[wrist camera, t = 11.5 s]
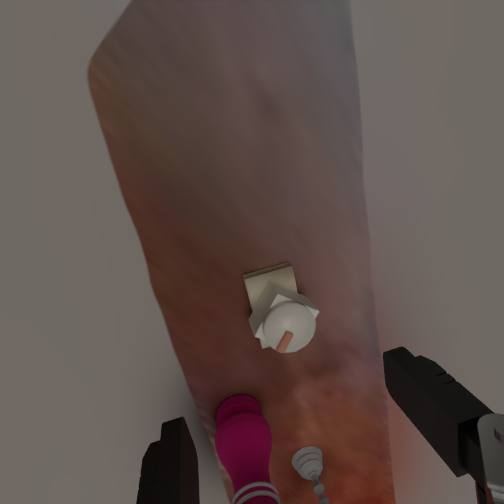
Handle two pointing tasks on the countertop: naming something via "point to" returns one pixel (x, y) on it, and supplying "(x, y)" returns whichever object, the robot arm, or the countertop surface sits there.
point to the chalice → (311, 469)
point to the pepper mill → (245, 450)
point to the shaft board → (260, 279)
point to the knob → (283, 318)
